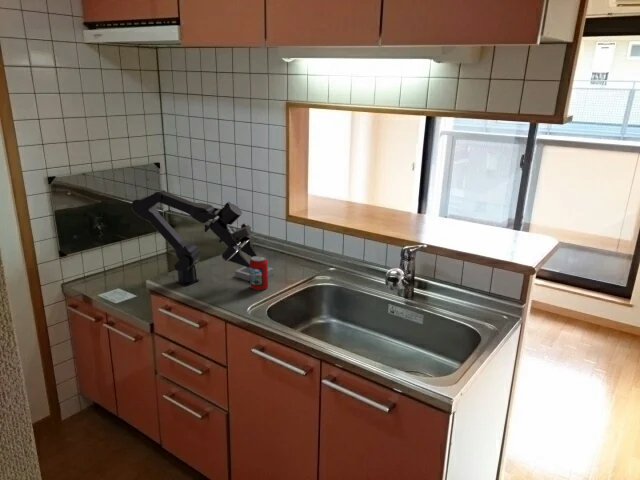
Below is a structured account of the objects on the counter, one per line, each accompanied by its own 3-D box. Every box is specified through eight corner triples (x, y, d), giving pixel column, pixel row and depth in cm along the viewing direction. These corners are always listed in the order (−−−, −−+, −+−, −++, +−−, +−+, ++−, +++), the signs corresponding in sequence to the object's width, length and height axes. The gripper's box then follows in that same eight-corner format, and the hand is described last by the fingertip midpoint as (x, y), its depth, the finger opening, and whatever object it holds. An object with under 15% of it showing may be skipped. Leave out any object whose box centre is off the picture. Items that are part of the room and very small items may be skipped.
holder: (255, 282, 195) (255, 276, 194) (235, 276, 201) (234, 270, 200) (273, 274, 204) (273, 268, 203) (253, 268, 209) (253, 263, 209)
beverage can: (246, 287, 190) (245, 258, 187) (260, 282, 195) (259, 253, 192) (258, 292, 186) (257, 262, 182) (272, 287, 191) (271, 257, 187)
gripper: (228, 225, 175) (259, 257, 176) (246, 212, 192) (274, 241, 194) (208, 245, 179) (239, 276, 180) (227, 230, 196) (255, 259, 198)
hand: (253, 262), depth 188 cm, fingers open, 9 cm apart
